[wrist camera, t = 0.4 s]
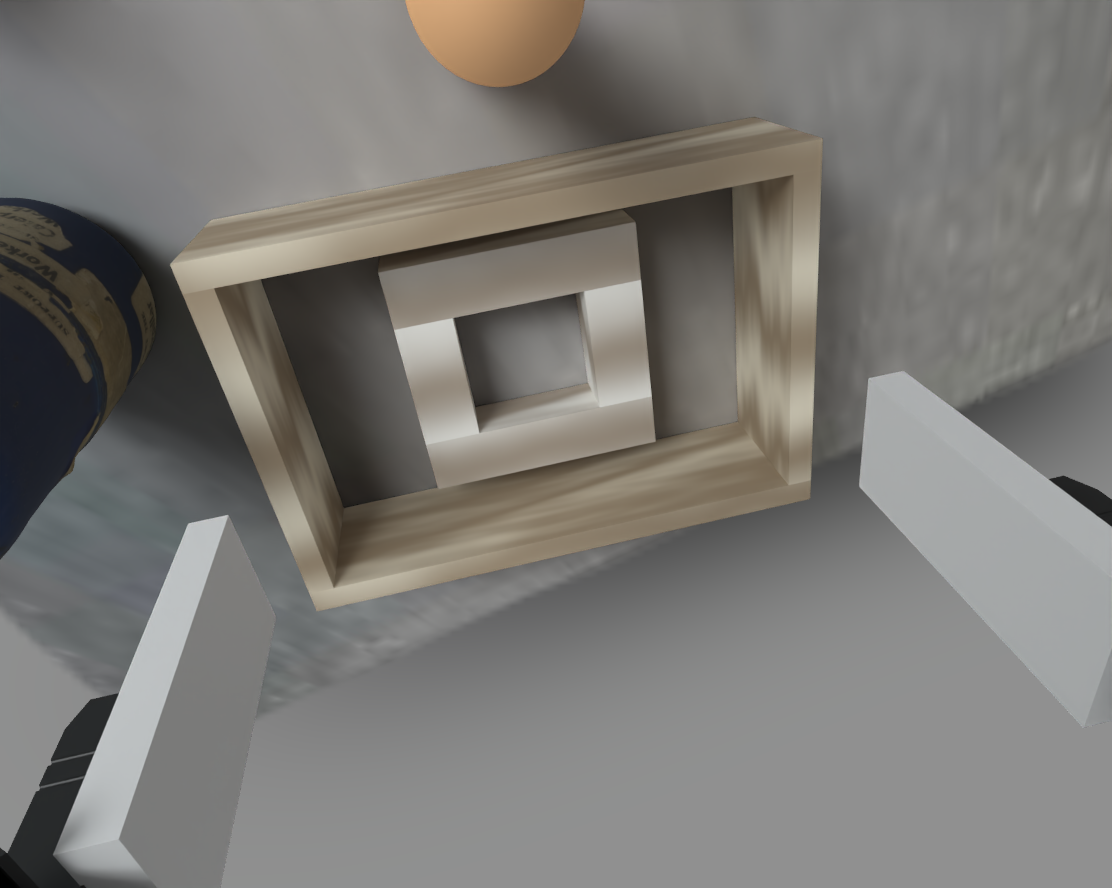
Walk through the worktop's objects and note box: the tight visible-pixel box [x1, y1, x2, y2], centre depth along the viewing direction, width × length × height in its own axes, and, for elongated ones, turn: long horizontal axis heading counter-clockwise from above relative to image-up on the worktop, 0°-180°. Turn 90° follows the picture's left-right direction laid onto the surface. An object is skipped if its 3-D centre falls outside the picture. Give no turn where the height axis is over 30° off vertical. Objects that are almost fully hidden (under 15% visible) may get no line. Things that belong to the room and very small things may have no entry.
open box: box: [170, 117, 823, 611], centre depth 37 cm, size 18×26×7 cm
